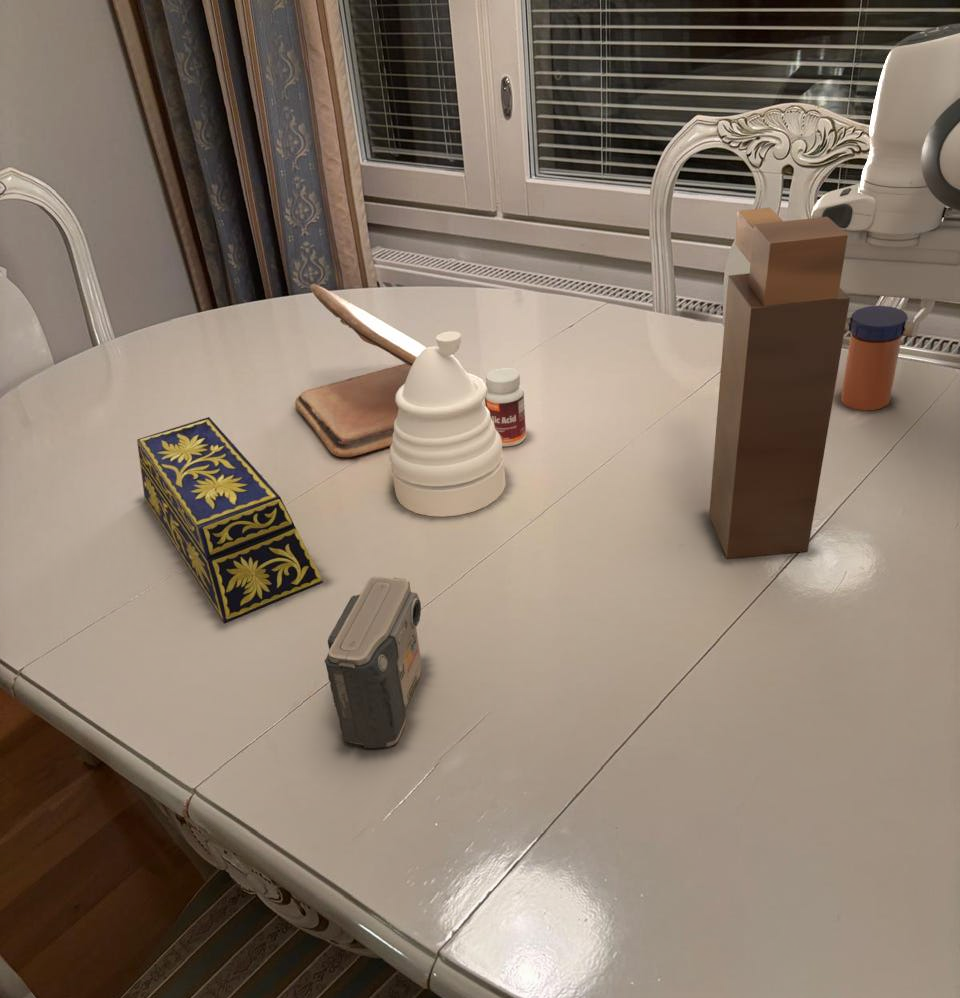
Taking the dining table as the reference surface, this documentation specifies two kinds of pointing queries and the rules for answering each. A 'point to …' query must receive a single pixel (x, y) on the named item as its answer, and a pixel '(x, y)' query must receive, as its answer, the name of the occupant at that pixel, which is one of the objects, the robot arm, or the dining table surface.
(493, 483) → the honey pot
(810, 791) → the dining table surface
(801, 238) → the brown wooden block
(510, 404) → the pill bottle
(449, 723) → the dining table surface
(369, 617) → the camera
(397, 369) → the case
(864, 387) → the jar
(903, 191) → the robot arm
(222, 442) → the decorative box
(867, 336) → the lid
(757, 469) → the pedestal
